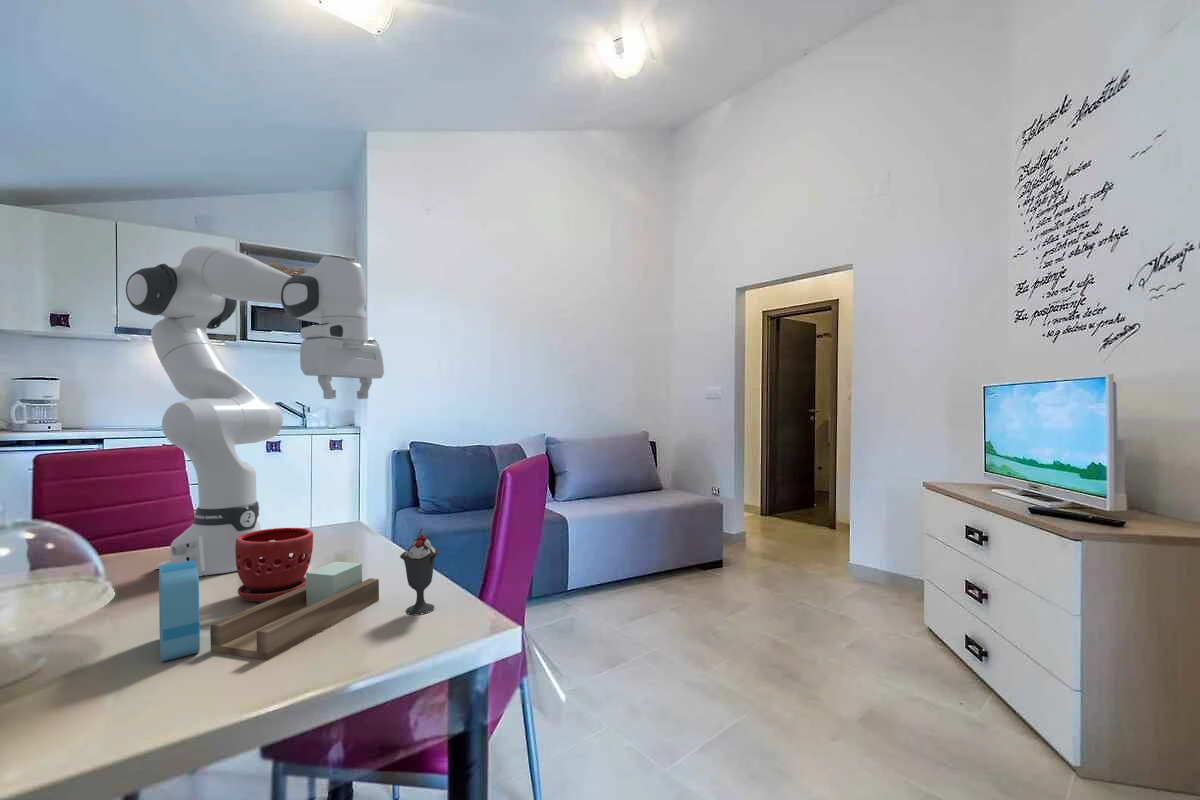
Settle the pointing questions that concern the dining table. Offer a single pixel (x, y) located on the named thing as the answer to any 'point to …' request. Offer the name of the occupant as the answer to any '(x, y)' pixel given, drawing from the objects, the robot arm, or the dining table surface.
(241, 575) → the plant pot
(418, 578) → the sundae
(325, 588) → the block
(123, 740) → the dining table surface
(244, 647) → the chute
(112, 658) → the dining table surface
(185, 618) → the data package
